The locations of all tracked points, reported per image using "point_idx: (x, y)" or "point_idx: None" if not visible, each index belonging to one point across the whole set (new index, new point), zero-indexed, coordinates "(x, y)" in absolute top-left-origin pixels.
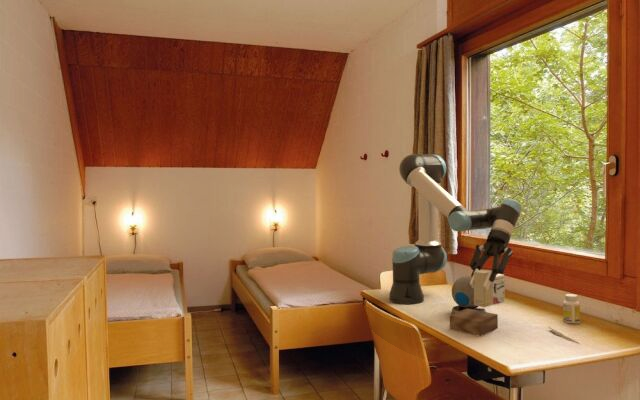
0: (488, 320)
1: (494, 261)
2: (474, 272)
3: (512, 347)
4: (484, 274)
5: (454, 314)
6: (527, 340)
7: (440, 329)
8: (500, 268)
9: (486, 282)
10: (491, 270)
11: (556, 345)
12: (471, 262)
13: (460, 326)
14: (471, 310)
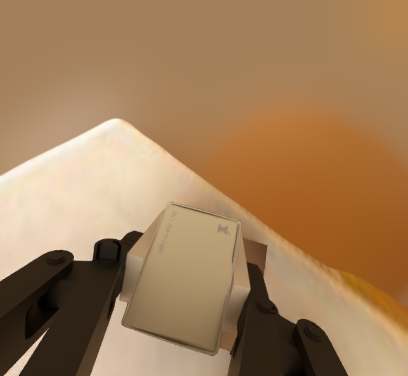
0: None
1: (70, 341)
2: (235, 221)
3: (112, 191)
4: (170, 204)
5: (259, 258)
6: (75, 247)
7: (270, 242)
8: (44, 259)
9: (161, 214)
10: (132, 325)
11: (11, 238)
12: (335, 365)
13: None
14: (231, 333)
